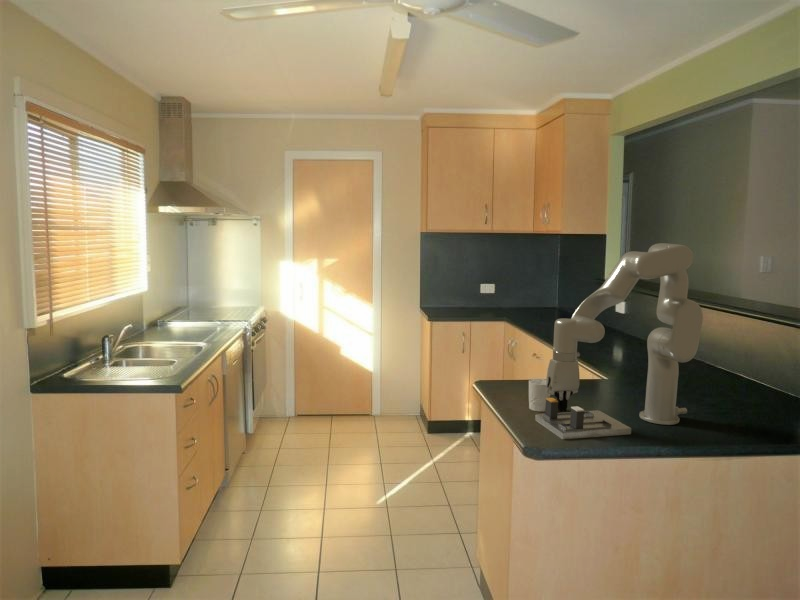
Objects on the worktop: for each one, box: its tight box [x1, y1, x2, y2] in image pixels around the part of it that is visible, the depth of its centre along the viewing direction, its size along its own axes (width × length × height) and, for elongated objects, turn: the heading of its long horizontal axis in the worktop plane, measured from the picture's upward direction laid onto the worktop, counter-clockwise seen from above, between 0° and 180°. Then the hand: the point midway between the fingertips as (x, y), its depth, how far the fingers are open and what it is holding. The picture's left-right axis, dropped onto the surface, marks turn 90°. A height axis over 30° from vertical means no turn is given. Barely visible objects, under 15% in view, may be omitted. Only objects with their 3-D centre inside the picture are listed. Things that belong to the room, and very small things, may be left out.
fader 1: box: [544, 397, 559, 419], centre depth 193 cm, size 2×4×6 cm
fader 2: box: [570, 405, 585, 429], centre depth 185 cm, size 2×4×6 cm
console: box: [534, 409, 632, 440], centre depth 191 cm, size 24×18×3 cm
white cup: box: [528, 378, 551, 413], centre depth 209 cm, size 8×8×10 cm
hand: (561, 410), depth 195 cm, fingers closed
